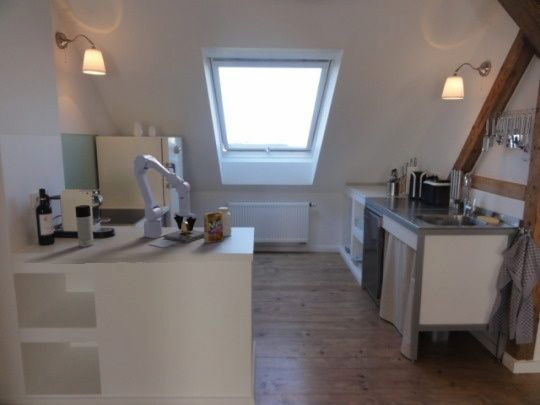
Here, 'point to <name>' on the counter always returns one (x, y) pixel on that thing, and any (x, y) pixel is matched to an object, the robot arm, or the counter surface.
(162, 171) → the robot arm
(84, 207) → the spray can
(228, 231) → the pill bottle
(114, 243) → the counter surface
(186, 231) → the end plug
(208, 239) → the candy box
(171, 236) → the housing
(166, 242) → the mat
